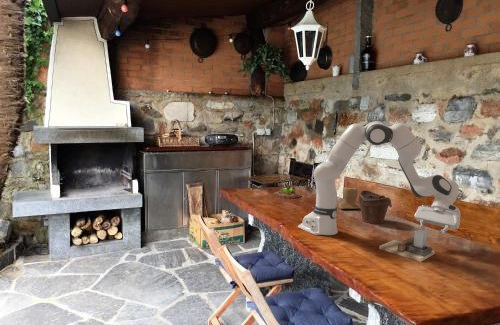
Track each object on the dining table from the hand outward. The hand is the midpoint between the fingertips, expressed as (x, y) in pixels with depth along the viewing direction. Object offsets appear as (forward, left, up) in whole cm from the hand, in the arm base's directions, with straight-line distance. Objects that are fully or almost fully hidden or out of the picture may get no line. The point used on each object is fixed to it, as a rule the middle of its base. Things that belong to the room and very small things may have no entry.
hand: (431, 231), depth 174 cm
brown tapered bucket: (-43, +24, -10) cm, 50 cm away
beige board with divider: (-6, -11, -10) cm, 16 cm away
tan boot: (-71, +39, -10) cm, 82 cm away
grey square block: (0, -11, -8) cm, 14 cm away
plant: (-124, +34, -10) cm, 129 cm away
